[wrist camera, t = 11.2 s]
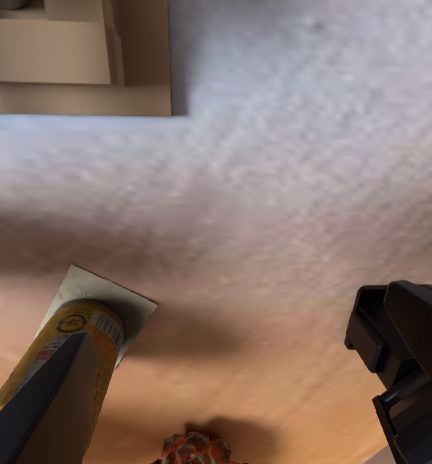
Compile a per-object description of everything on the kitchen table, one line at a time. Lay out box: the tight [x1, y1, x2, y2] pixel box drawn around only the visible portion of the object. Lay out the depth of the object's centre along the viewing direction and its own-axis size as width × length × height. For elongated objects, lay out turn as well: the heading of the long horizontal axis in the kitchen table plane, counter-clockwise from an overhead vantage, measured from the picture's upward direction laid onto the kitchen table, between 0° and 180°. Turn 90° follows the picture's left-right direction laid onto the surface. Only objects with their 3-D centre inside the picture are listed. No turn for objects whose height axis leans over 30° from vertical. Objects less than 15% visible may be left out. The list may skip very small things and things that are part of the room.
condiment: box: [0, 264, 158, 455], centre depth 19 cm, size 7×8×12 cm
